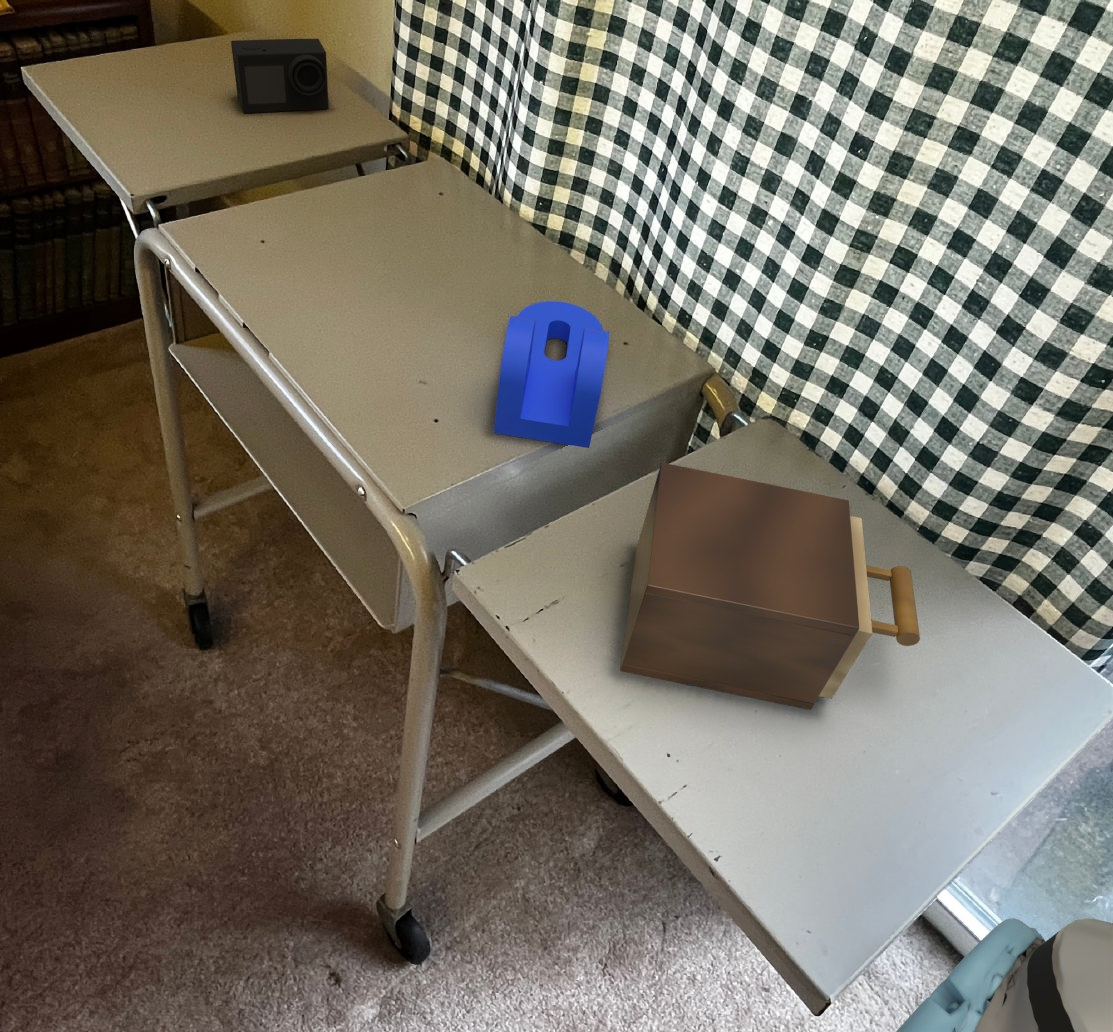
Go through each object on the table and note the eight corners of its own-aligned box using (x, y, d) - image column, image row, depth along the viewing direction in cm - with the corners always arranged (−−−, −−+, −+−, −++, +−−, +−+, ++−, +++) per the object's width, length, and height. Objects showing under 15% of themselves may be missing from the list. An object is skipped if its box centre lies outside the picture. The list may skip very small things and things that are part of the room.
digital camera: (244, 118, 114) (238, 58, 109) (236, 98, 118) (229, 39, 112) (331, 114, 118) (328, 56, 113) (321, 94, 121) (318, 37, 116)
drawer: (879, 597, 74) (920, 529, 68) (891, 711, 66) (938, 646, 61) (666, 553, 74) (689, 482, 68) (655, 663, 67) (680, 594, 61)
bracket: (589, 448, 82) (606, 365, 76) (493, 432, 82) (502, 348, 76) (602, 326, 95) (617, 246, 88) (519, 313, 94) (528, 231, 88)
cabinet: (806, 584, 75) (849, 499, 68) (810, 710, 67) (859, 628, 60) (636, 549, 75) (661, 461, 68) (620, 670, 67) (647, 585, 60)
